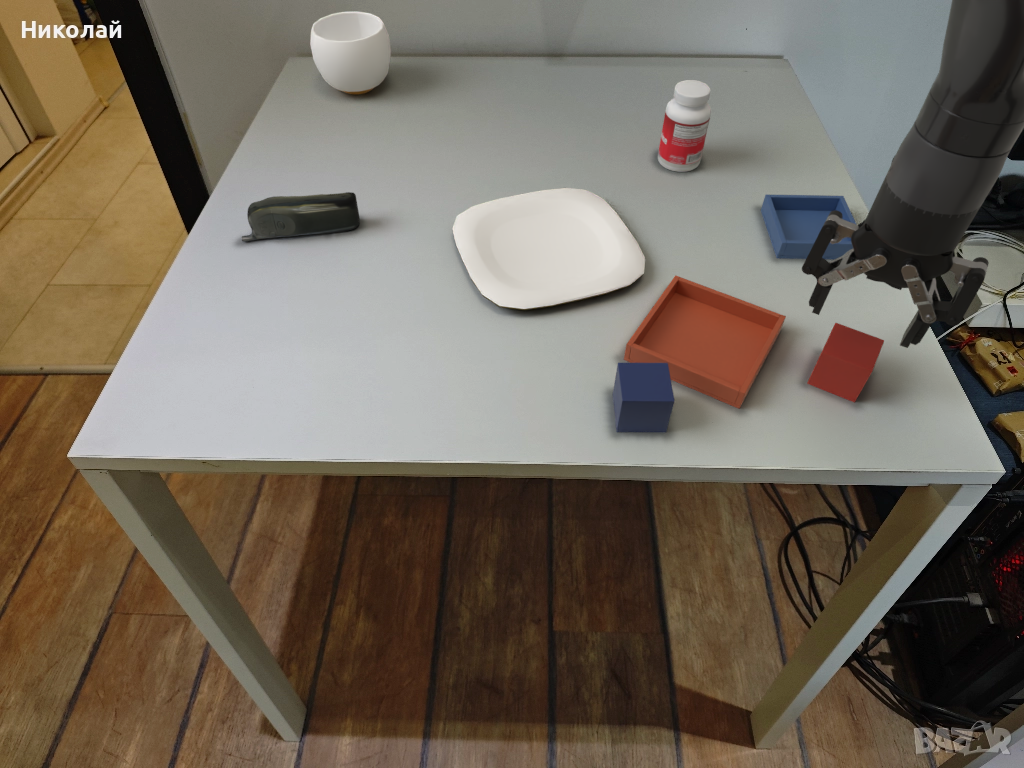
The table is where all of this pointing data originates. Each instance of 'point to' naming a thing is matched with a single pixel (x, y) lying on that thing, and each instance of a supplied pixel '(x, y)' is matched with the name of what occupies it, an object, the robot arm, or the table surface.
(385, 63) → the cup
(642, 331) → the terracotta tray
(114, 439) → the table surface
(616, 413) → the navy block
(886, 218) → the robot arm
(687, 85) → the pill bottle
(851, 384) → the red block
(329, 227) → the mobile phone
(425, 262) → the table surface
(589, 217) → the plate
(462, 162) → the table surface
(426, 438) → the table surface
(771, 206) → the blue tray
